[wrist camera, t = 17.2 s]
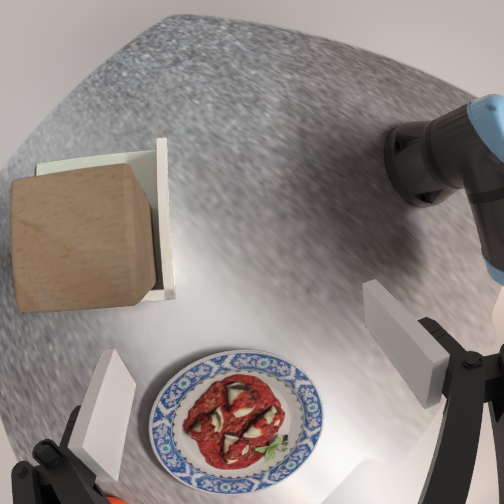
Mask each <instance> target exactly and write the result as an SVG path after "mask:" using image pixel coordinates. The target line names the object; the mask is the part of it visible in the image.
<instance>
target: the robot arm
mask: <svg viewBox="0 0 504 504" xmlns="http://www.w3.org/2000/svg"><path fill="white" fill-rule="evenodd" d="M384 155H385V164H386V168H387V172H388V175H389V177H390V180H391V182H392V184H393V185H394V187H395V188H396V190H397V191H398V193H399V194H400V195H401V196H402V197H403V198H404V199H405V200H406V201H408V202H409V203H411V204H413V205H415V206H418V207H430V206H434V205H438V204H440V203H442V202H443V201H444V200H446V199H447V198H448V197H450V196H451V195H452V194H453V193H455V192H456V191H457V190H458V189H462V188H465V191H466V194H467V197H468V200H469V203H470V206H471V210H472V213H473V216H474V220H475V223H476V227H477V231H478V234H479V238H480V242H481V246H482V247H481V251H482V255H483V258H484V260H485V262H486V266H487V270H488V272H489V274H490V276H491V278H492V279H493V280H494V281H496V282H497V283H498V284H500V285H502V286H504V97H502V96H500V95H497V94H489V95H486V96H484V97H481V98H479V99H472V100H471V101H469V103H468V104H466V105H464V106H462V107H460V108H458V109H456V110H454V111H452V112H449V113H447V114H445V115H443V116H441V117H439V118H437V119H435V120H433V121H415V122H407V123H404V124H402V125H400V126H399V127H397V128H395V129H394V130H393V131H392V132H391V133H390V134H389V136H388V138H387V140H386V144H385V152H384ZM362 288H363V301H364V315H365V327H366V328H367V330H368V331H369V332H370V334H371V335H372V336H373V338H374V339H375V340H376V342H377V343H378V344H379V346H380V347H381V349H382V350H383V351H384V353H385V354H386V355H387V357H388V358H389V360H390V361H391V362H392V364H393V365H394V367H395V368H396V369H397V371H398V372H399V374H400V375H401V376H402V378H403V379H404V381H405V382H406V383H407V385H408V386H409V388H410V389H411V391H412V392H413V393H414V395H415V396H416V398H417V399H418V401H419V402H420V403H421V405H422V406H423V408H424V409H427V408H429V407H431V406H433V405H435V404H437V403H439V402H440V399H441V395H442V394H443V395H444V396H445V397H446V399H447V400H446V404H445V408H444V411H443V419H442V423H441V428H440V432H439V436H438V440H437V444H436V448H435V451H434V455H433V458H432V462H431V465H430V469H429V472H428V475H427V478H426V481H425V484H424V487H423V490H422V493H421V496H420V498H419V501H418V504H465V503H466V499H467V496H468V491H469V488H470V483H471V479H472V474H473V470H474V465H475V460H476V455H477V449H478V442H479V436H480V429H481V422H482V413H483V403H486V402H488V406H489V412H490V417H491V423H492V429H493V436H494V443H495V451H496V459H497V471H498V484H499V504H504V344H503V345H502V346H501V349H500V352H499V353H497V354H493V355H489V356H482V355H481V354H479V353H478V352H474V351H466V350H465V349H464V348H463V347H462V346H461V345H460V344H459V343H458V342H457V341H456V340H455V339H454V338H453V337H452V336H451V335H450V334H448V332H447V331H446V330H445V329H443V328H442V327H441V326H440V325H439V324H438V323H437V322H436V321H435V320H432V319H430V318H428V317H425V318H423V319H420V320H418V321H417V320H416V319H415V318H414V317H413V316H412V315H411V314H410V313H409V312H408V311H407V310H406V309H405V308H404V307H403V306H402V305H401V304H400V303H399V302H398V301H397V300H396V299H395V298H394V297H393V296H392V295H391V294H390V293H389V292H388V291H387V290H386V289H385V288H384V287H383V286H382V285H381V284H380V283H379V282H378V281H377V280H376V279H374V280H371V281H368V282H365V283H362ZM135 388H136V384H135V382H134V380H133V379H132V377H131V375H130V374H129V372H128V370H127V368H126V367H125V365H124V363H123V361H122V360H121V358H120V356H119V354H118V353H117V351H116V349H115V348H111V349H106V350H103V351H102V353H101V356H100V358H99V361H98V363H97V366H96V368H95V371H94V373H93V376H92V379H91V381H90V384H89V386H88V389H87V392H86V395H85V397H84V400H83V403H82V405H81V406H76V408H75V409H74V410H73V411H72V413H71V415H70V417H69V420H68V423H67V426H66V430H65V431H64V434H63V437H62V440H61V443H60V446H59V447H58V446H57V445H56V444H55V442H54V441H53V440H50V439H44V440H42V441H40V442H39V443H38V444H37V445H36V446H35V447H34V449H33V453H32V455H33V458H34V459H35V460H36V461H37V462H38V463H39V464H40V465H38V466H35V467H33V466H32V465H31V464H30V463H29V462H28V461H20V462H19V463H17V464H16V465H15V466H14V467H13V470H12V474H11V478H12V494H13V504H111V503H110V501H109V500H108V499H107V497H106V496H105V494H104V493H103V491H102V490H101V488H100V487H99V486H98V485H97V484H96V483H95V479H96V476H97V477H98V478H99V479H100V480H101V481H102V482H118V477H119V471H120V465H121V459H122V453H123V448H124V442H125V437H126V432H127V426H128V421H129V417H130V412H131V407H132V402H133V398H134V393H135Z"/></svg>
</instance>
